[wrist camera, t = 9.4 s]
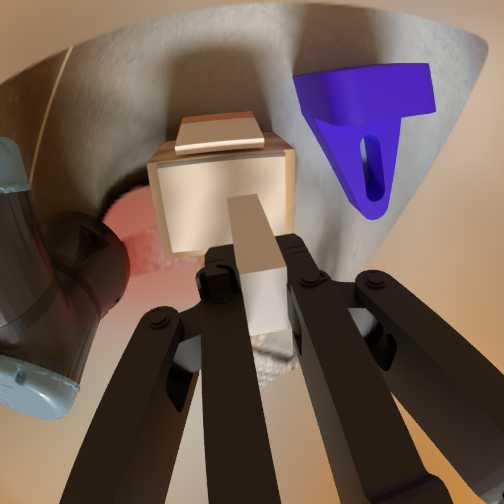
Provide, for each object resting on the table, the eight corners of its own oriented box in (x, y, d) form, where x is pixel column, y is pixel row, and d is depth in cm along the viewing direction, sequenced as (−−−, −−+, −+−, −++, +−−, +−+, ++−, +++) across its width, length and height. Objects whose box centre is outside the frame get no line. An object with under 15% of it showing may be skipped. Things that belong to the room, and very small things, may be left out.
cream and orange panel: (176, 155, 23) (174, 146, 22) (183, 124, 29) (182, 117, 28) (264, 147, 23) (264, 137, 23) (252, 118, 29) (251, 110, 29)
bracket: (292, 76, 29) (329, 72, 19) (376, 64, 29) (438, 63, 19) (323, 216, 38) (360, 266, 28) (395, 195, 38) (446, 236, 28)
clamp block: (176, 214, 36) (163, 263, 27) (165, 142, 31) (144, 166, 22) (275, 205, 37) (296, 250, 27) (273, 131, 32) (297, 151, 23)
